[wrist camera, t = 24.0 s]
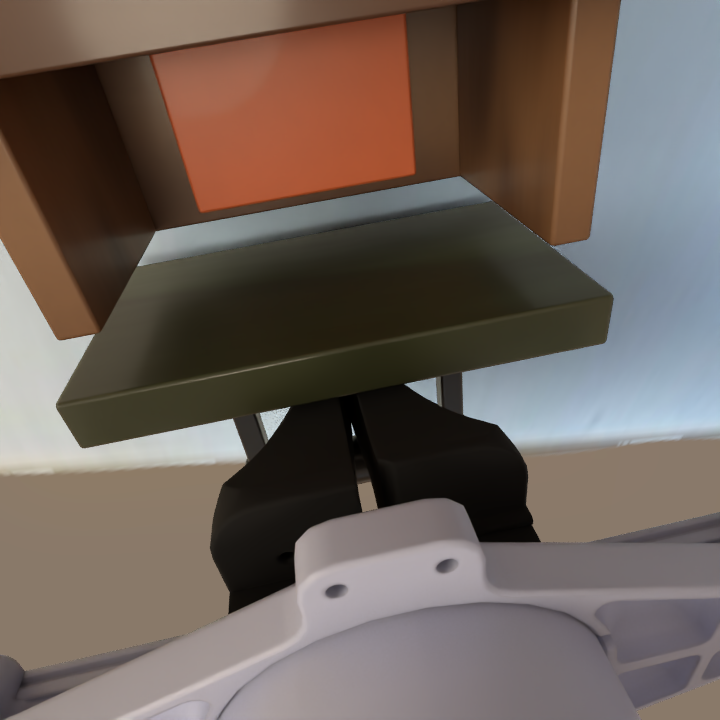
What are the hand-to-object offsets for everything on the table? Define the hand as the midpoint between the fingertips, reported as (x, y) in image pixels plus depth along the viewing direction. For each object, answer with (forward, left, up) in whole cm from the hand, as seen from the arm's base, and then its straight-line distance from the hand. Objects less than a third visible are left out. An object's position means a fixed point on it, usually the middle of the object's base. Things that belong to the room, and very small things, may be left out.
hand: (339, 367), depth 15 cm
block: (+8, 0, -2) cm, 8 cm away
